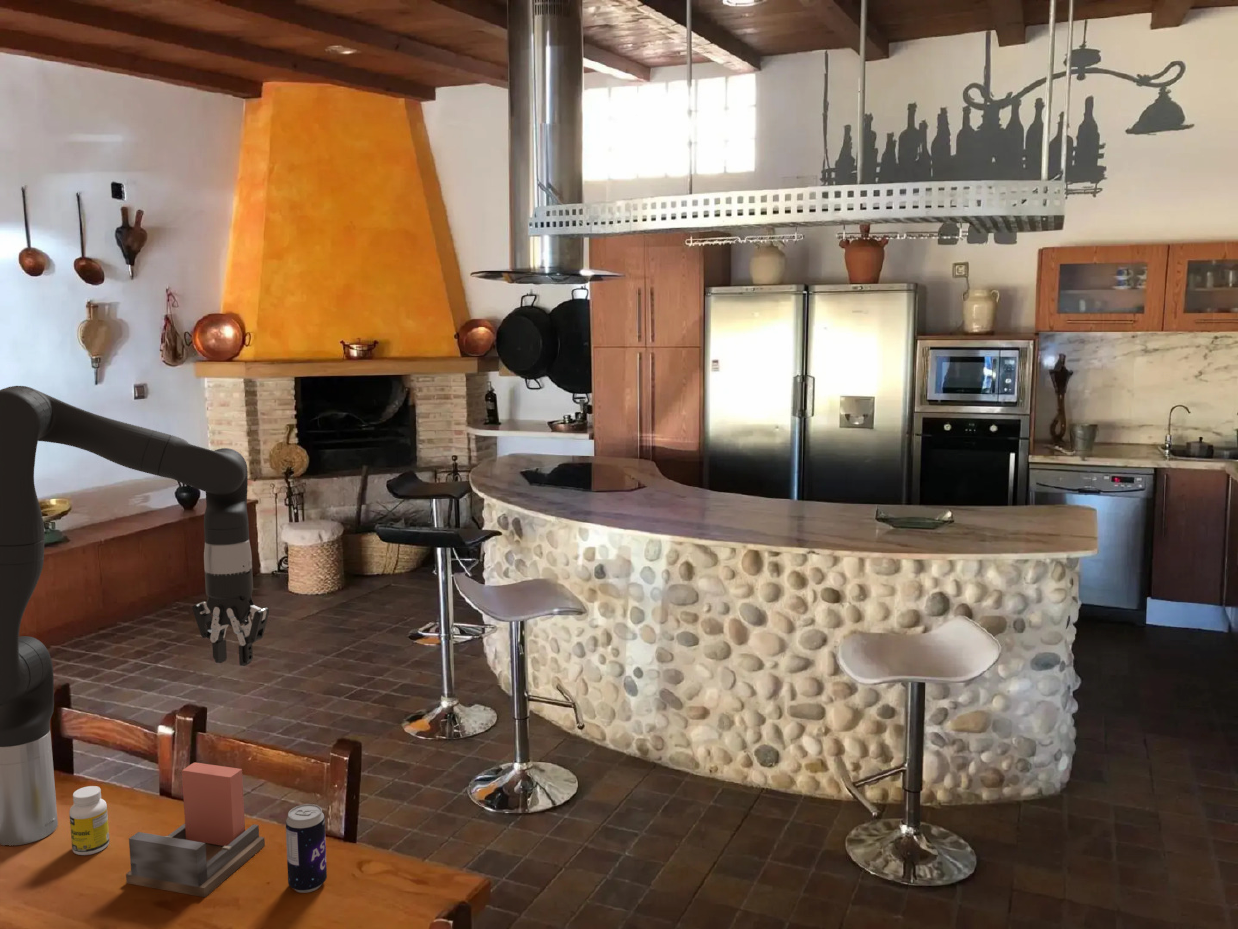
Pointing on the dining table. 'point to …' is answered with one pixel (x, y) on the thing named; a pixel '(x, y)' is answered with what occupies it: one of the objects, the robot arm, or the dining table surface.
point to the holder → (188, 860)
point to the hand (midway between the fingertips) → (233, 662)
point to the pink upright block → (213, 803)
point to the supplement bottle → (88, 821)
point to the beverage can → (306, 848)
